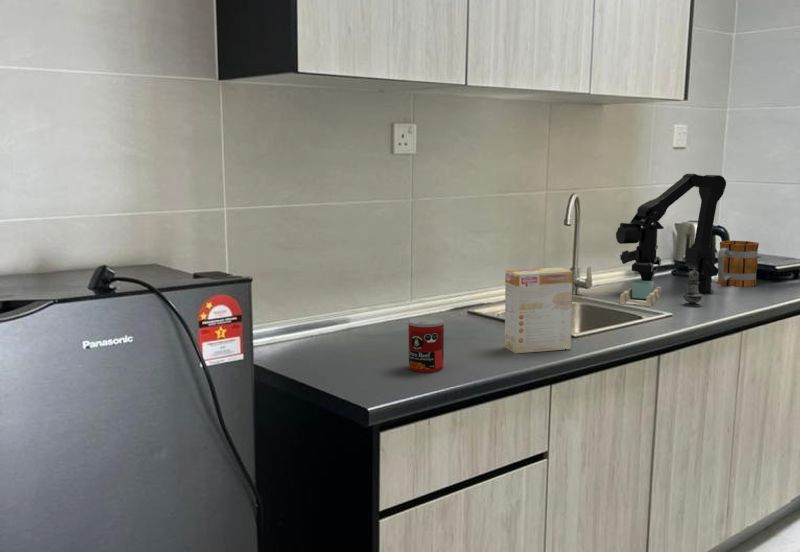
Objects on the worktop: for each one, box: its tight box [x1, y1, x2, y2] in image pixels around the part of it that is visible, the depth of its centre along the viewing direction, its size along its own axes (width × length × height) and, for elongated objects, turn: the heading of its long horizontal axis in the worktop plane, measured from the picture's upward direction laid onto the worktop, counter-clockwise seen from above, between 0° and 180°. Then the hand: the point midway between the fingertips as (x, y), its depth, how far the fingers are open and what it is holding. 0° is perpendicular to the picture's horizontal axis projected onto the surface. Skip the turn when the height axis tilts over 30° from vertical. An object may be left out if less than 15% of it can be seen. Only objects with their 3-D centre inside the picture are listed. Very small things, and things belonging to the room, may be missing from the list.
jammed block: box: [631, 279, 655, 300], centre depth 257 cm, size 6×6×5 cm
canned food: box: [408, 316, 445, 373], centre depth 176 cm, size 8×8×11 cm
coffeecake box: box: [504, 267, 573, 355], centre depth 192 cm, size 15×7×20 cm, turn 105°
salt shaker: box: [682, 268, 704, 308], centre depth 244 cm, size 6×6×12 cm
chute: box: [619, 285, 662, 308], centre depth 254 cm, size 20×9×3 cm, turn 153°
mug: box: [717, 240, 760, 288], centre depth 280 cm, size 20×14×15 cm
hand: (645, 289), depth 261 cm, fingers closed
